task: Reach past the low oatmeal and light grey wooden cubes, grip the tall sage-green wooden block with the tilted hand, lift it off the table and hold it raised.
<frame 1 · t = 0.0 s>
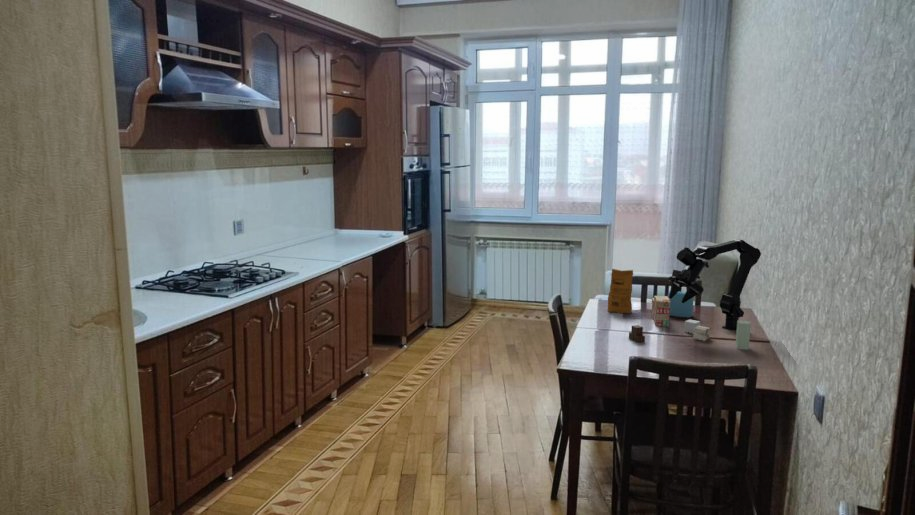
hand: (675, 300, 290), 15 cm above the table, tool tilted 35°, fingers open, 9 cm apart
light grey cube: (691, 331, 294), on the table
light blue box: (679, 316, 324), on the table
coffee package: (619, 311, 332), on the table
sage green block: (741, 347, 269), on the table
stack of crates: (639, 341, 280), on the table
oatmeal cube: (701, 338, 283), on the table
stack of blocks: (659, 321, 313), on the table
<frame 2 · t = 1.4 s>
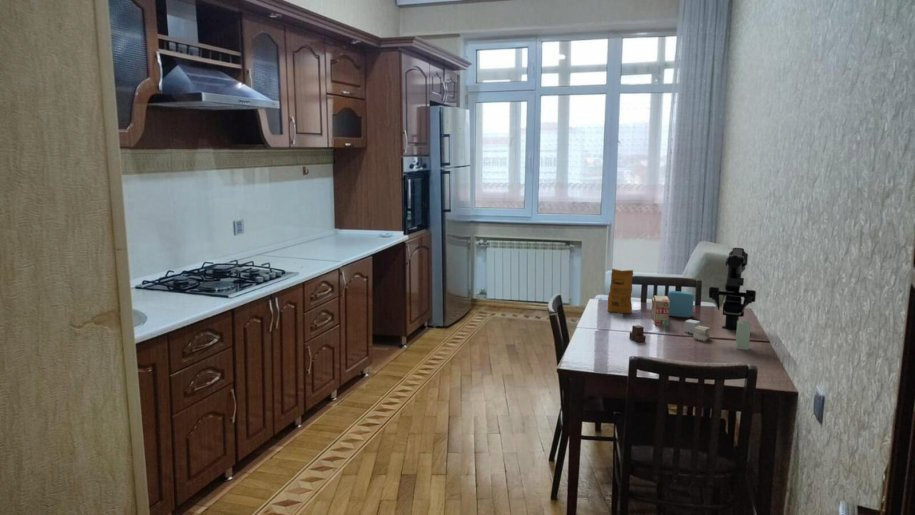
hand: (730, 310, 276), 14 cm above the table, tool tilted 40°, fingers open, 9 cm apart
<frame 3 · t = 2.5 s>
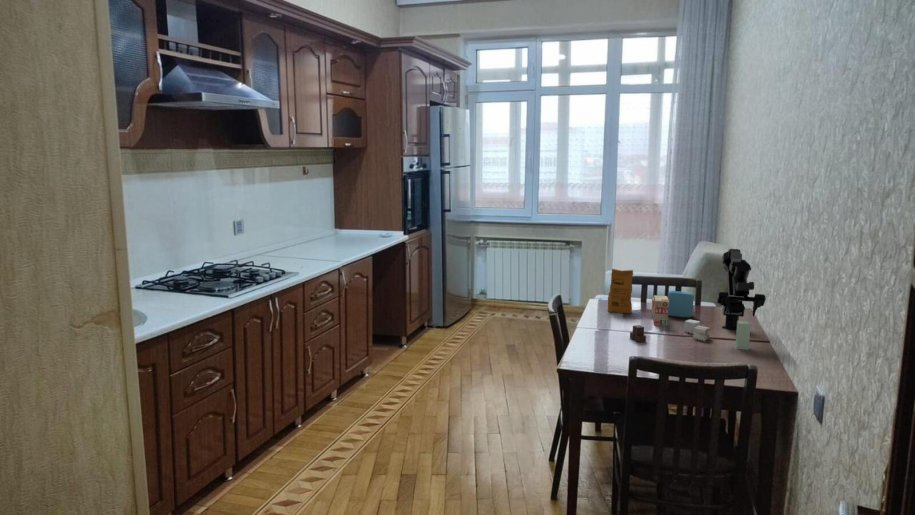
hand: (742, 315, 273), 12 cm above the table, tool tilted 45°, fingers open, 9 cm apart
nothing on the table moved.
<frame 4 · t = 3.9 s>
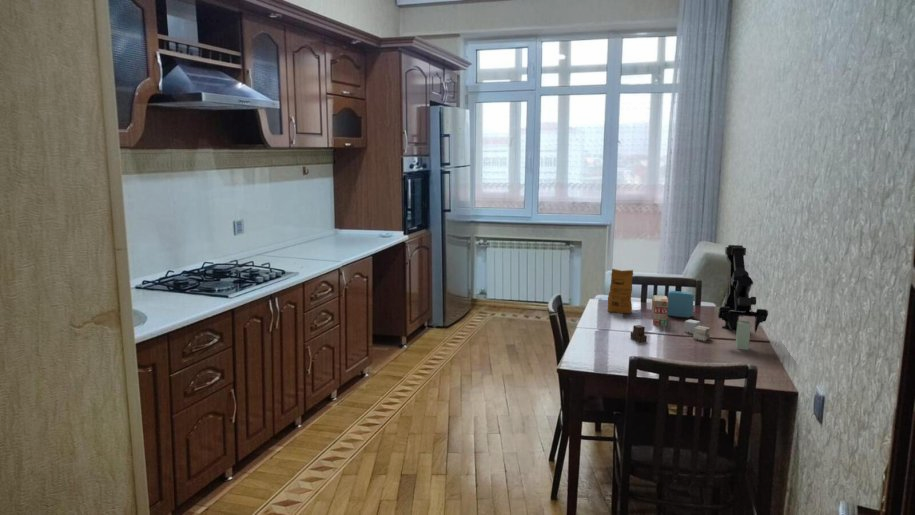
hand: (743, 331, 267), 7 cm above the table, tool tilted 45°, fingers open, 9 cm apart
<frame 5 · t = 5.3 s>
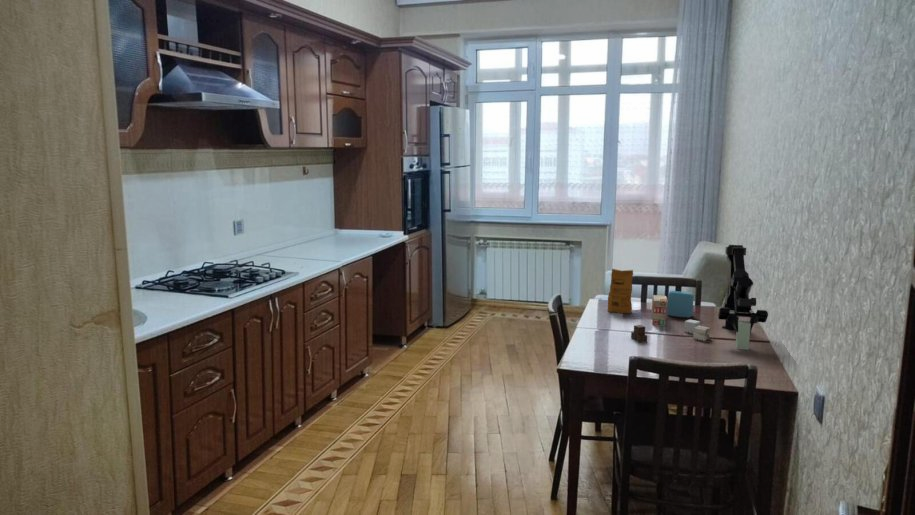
hand: (743, 332, 267), 7 cm above the table, tool tilted 45°, fingers closed on sage green block, 4 cm apart
sage green block: (741, 347, 269), on the table, touching gripper
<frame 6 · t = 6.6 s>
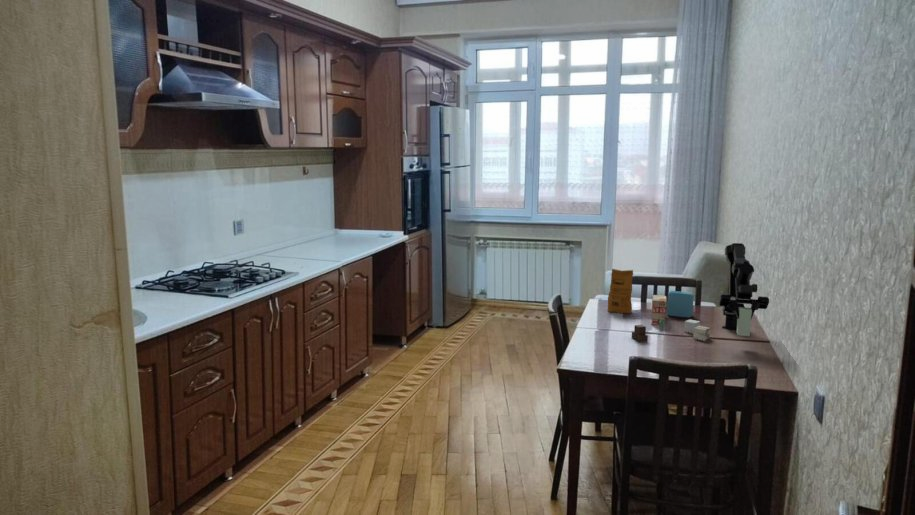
hand: (744, 318, 266), 13 cm above the table, tool tilted 45°, fingers closed on sage green block, 4 cm apart
sage green block: (743, 334, 268), point 6 cm above the table, touching gripper
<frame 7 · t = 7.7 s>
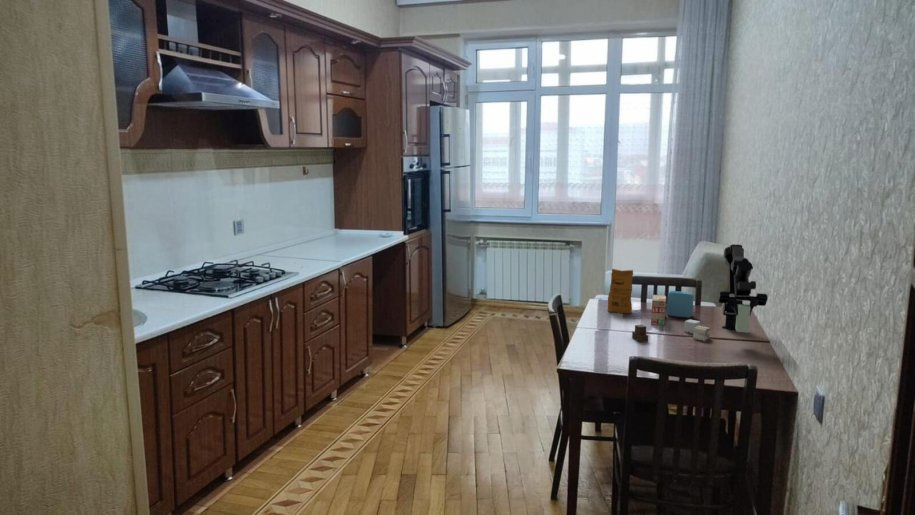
hand: (743, 315, 269), 14 cm above the table, tool tilted 45°, fingers closed on sage green block, 4 cm apart
sage green block: (741, 330, 272), point 6 cm above the table, touching gripper
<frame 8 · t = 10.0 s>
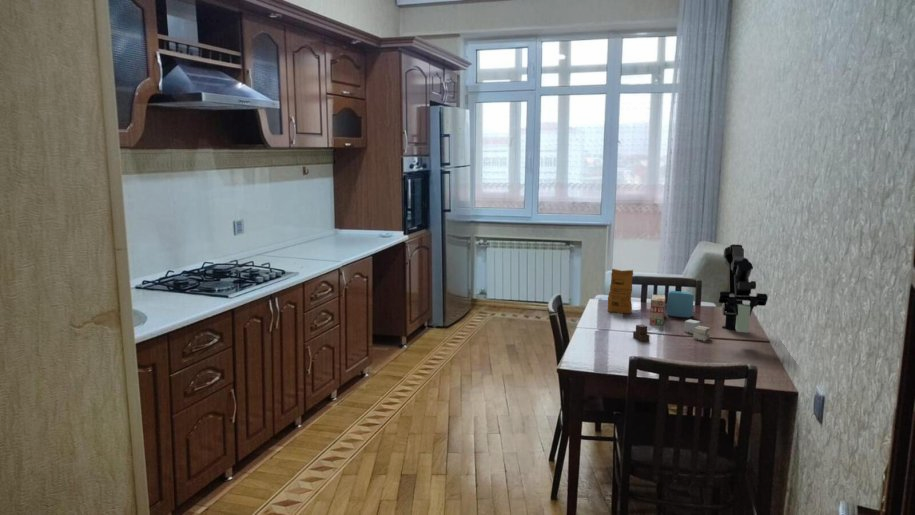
hand: (743, 315, 269), 14 cm above the table, tool tilted 45°, fingers closed on sage green block, 4 cm apart
sage green block: (741, 330, 272), point 6 cm above the table, touching gripper
at the end: the gripper is holding sage green block; sage green block point 6.4 cm above the table; oatmeal cube moved 0.1 cm from its start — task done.
